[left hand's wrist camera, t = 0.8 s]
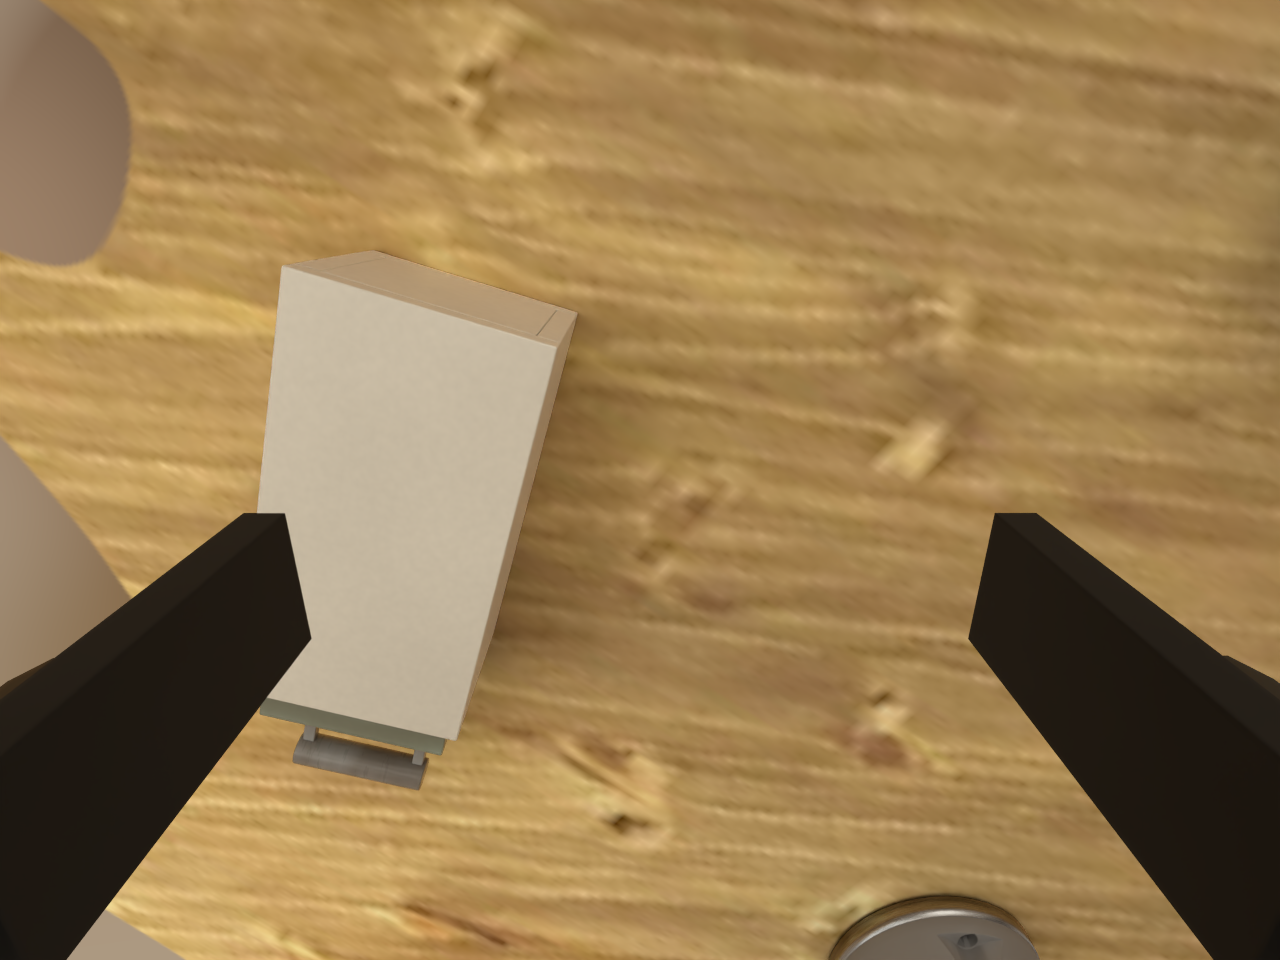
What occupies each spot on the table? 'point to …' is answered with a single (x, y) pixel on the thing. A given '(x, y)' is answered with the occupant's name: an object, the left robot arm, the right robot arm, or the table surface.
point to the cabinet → (403, 475)
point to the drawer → (357, 745)
